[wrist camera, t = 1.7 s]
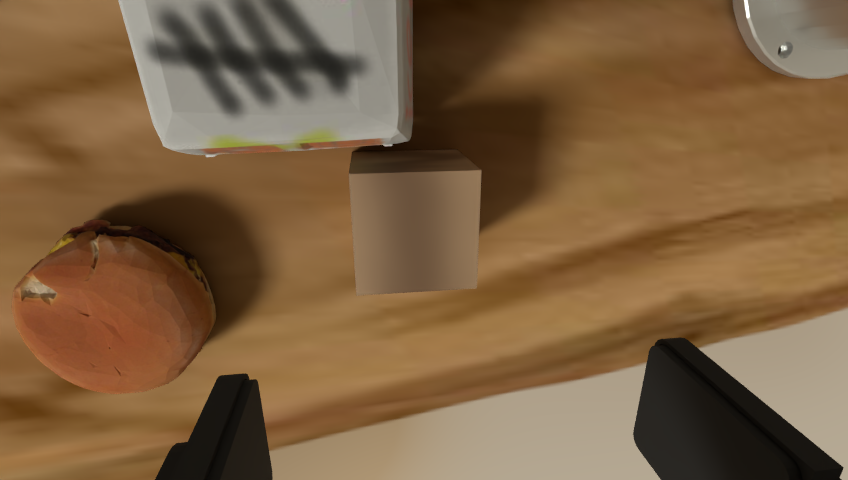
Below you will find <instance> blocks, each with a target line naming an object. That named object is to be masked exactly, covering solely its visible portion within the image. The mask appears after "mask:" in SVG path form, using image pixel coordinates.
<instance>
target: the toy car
mask: <svg viewBox="0 0 848 480" xmlns="http://www.w3.org/2000/svg"><path fill="white" fill-rule="evenodd" d="M118 1H119V4H120V8H121V11H122V15H123V18H124V22H125V26H126V29H127V33H128V36H129V40H130V43H131V47H132V51H133V54H134V58H135V61H136V65H137V68H138V72H139V76H140V79H141V83H142V86H143V90H144V93H145V97H146V101H147V104H148V108H149V111H150V115H151V118H152V122H153V125H154V127H155V129H156V131H157V133H158V135H159V137H160V139H161V141H162V144H163V146H164V147H166V148H168V149H171V150H173V151H178V152H182V153H187V154H195V155H205V156H206V157H215V156H216V155H218V154H238V153H260V152H280V151H302V150H314V149H329V148H343V147H357V146H371V145H383V146H392V144H396V143H402V142H406V141H409V140H410V138H411V135H412V125H413V0H118Z"/></svg>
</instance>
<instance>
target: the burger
mask: <svg viewBox="0 0 848 480" xmlns="http://www.w3.org/2000/svg"><path fill="white" fill-rule="evenodd" d="M110 224H111V222H108V221H106V220H91V221H87V222H85V223H84V224H83V226H79V227H75V228H72V229H71V230H69V231H68V232H67V233H66V234H65V235H64V236H63V237H62V238H61V239H60V240H59V241H57V243H56V245H55V246H54V247H53V248H52V249H51V251H50V252H49V254H48V255H47V256H46V257H45V258H44V259H41V260H40V261H39V262H38V263H37V264H36V265H35V266H34V267H32V268H31V270H30V271H29V272H28V273H27V274H26V275H25V276H24V277H23V278H22V280H21V281H20V282H19V283H18V284H17V285H16V287H15V289H14V292H13V298H12V312H13V316H14V320H15V324H16V327H17V329H18V331H19V333H20V335H21V337H22V339H23V341H24V342H25V344H26V345H27V346H28V347H29V349H30V350H31V351H32V352H33V353H34V355H35V356H36V357H37V358H38V360H39V361H40V362H42V363H43V364H44V365H46V366H47V367H48V368H49V369H51V370H52V371H53V372H55V373H56V374H57V375H58V376H60V377H62V378H64V379H65V380H67V381H69V382H71V383H73V384H75V385H78V386H80V387H83V388H86V389H89V390H93V391H96V392H103V393H111V394H121V393H137V392H144V391H148V390H151V389H154V388H157V387H159V386H162V385H165V384H168V383H169V382H171V381H172V380H174V379H175V378H177V377H178V376H179V375H180V374H181V373H182V372H183V371H184V370H185V369H186V367H187V366H188V365H189V364H190V363H191V362H192V361H193V359H194V358H195V357H196V355H197V354H198V352H200V351H201V349H202V346H203V344H204V343H205V341H206V340H207V338H208V336H209V334H210V332H211V330H212V328H213V326H214V324H215V321H216V309H215V304H214V300H213V296H212V293H211V290H210V288H209V285H208V282H207V280H206V278H205V276H204V274H203V272H202V271H201V269H200V267H199V265H198V263H197V261H196V260H195V258H194V256H192V255H191V254H189V253H187V252H186V251H184V250H183V249H181V248H179V247H177V246H176V245H174V244H172V243H170V241H169V240H167V239H163V238H161V237H159V236H157V235H156V234H155V233H153V232H152V231H151V230H147V229H146V228H145V227H143V226H140V225H138V226H134V227H129V226H110Z"/></svg>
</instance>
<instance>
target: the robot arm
mask: <svg viewBox="0 0 848 480" xmlns="http://www.w3.org/2000/svg"><path fill="white" fill-rule="evenodd" d="M733 10H734V13H735V17H736V21H737V25H738V29H739V31H740V33H741V35H742V37H743V39H744V41H745V43H746V45H747V47H748V48H749V49H750V50H751V52H752V53H753V54H754V55H755V56H756V58H757V59H758V60H759V61H760V62H762V63H763V64H764V65H766V66H767V67H769V68H770V69H771V70H773V71H775V72H778V73H781V74H783V75H786V76H789V77H796V78H805V79H817V78H833V77H837V76H842V75H846V74H848V0H733ZM633 435H634V440H635V443H636V446H637V447H638V449H639V450H640V452H641V453H642V454H643V456H644V457H645V458H646V460H647V461H648V463H649V464H650V465H651V467H652V468H653V469H654V471H655V472H656V473H657V475H658V476H659V477H660V479H661V480H841V479H840V478H839V477H840V475H841V473H842V470H843V467H842V466H841V465H840V464H838V463H837V462H836V461H835V460H833V459H832V458H831V457H830V456H829V455H827V454H826V453H825V452H824V451H822V450H821V449H820V448H819V447H818V446H816V445H815V444H814V443H813V442H812V441H810V440H809V439H808V438H807V437H805V436H804V435H803V434H802V433H800V432H799V431H798V430H797V429H795V428H794V427H793V426H792V425H791V424H790V423H788V422H787V421H786V420H785V419H783V418H782V417H781V416H780V415H779V414H777V413H776V412H775V411H774V410H772V409H771V408H770V407H769V406H768V405H766V404H765V403H764V402H763V401H761V400H760V399H759V398H758V397H756V396H755V395H754V394H753V393H752V392H750V391H749V390H748V389H747V388H746V387H744V386H743V385H742V384H741V383H739V382H738V381H737V380H736V379H734V378H733V377H732V376H731V375H730V374H728V373H727V372H726V371H725V370H723V369H722V368H721V367H720V366H719V365H717V364H716V363H715V362H714V361H713V360H711V359H710V358H709V357H707V356H706V355H705V354H704V353H703V352H701V351H700V350H699V349H698V348H697V347H695V346H694V345H693V344H692V343H691V342H689V341H688V340H686V339H685V338H670V339H660V340H658V341H657V342H656V343H655V346H652V347H651V348H650V351H649V355H648V360H647V365H646V370H645V376H644V381H643V386H642V391H641V396H640V401H639V406H638V411H637V416H636V421H635V427H634V433H633ZM155 480H272V468H271V461H270V455H269V449H268V442H267V436H266V430H265V423H264V417H263V411H262V404H261V398H260V392H259V386H258V382H257V380H256V379H254V380H249V376H248V374H233V375H221V376H219V377H218V379H217V380H216V382H215V385H214V387H213V389H212V391H211V393H210V395H209V398H208V400H207V402H206V404H205V406H204V408H203V410H202V413H201V415H200V417H199V419H198V421H197V423H196V425H195V428H194V430H193V432H192V434H191V436H190V438H189V440H188V442H184V443H176V444H175V445H174V446H173V447H172V448H171V450H170V451H169V453H168V455H167V457H166V459H165V461H164V463H163V465H162V467H161V469H160V471H159V473H158V475H157V477H156V479H155Z"/></svg>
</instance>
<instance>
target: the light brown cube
mask: <svg viewBox="0 0 848 480" xmlns="http://www.w3.org/2000/svg"><path fill="white" fill-rule="evenodd" d="M481 171H482V170H481V169H480V168H478V167H477V166H476V165H475V164H474V163H473V162H471V161H470V160H469V159H468V158H467V157H465V156H464V155H463V154H462V153H461V152H460V151H458V150H457V149H450V150H410V151H369V152H352V156H351V163H350V170H349V185H350V201H351V217H352V233H353V249H354V265H355V281H356V295H373V294H390V293H407V292H423V291H440V290H457V289H474V288H477V271H478V246H479V221H480V196H481Z"/></svg>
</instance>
